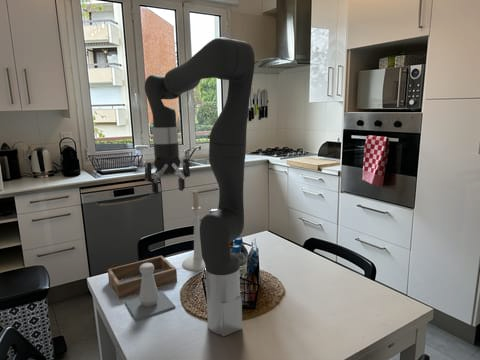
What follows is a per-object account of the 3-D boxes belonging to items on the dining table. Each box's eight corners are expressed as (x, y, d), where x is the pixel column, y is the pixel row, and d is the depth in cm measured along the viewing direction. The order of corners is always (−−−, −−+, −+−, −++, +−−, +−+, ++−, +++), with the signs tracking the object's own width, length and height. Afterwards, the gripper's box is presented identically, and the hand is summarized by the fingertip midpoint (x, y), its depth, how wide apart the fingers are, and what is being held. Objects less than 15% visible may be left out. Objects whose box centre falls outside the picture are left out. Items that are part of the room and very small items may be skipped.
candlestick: (196, 274, 128) (192, 195, 122) (175, 264, 136) (171, 190, 130) (221, 263, 137) (219, 188, 131) (200, 254, 145) (197, 184, 140)
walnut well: (177, 282, 122) (176, 268, 121) (119, 299, 112) (117, 285, 111) (162, 267, 134) (161, 255, 133) (108, 282, 123) (107, 269, 122)
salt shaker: (139, 310, 104) (136, 269, 102) (139, 300, 110) (136, 261, 107) (159, 307, 106) (156, 267, 103) (158, 297, 111) (156, 259, 109)
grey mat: (175, 307, 106) (175, 306, 106) (136, 321, 100) (136, 319, 100) (161, 291, 116) (161, 289, 116) (124, 302, 110) (124, 301, 110)
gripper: (147, 144, 101) (151, 198, 105) (191, 141, 109) (194, 191, 113) (139, 142, 108) (143, 193, 111) (181, 139, 115) (184, 187, 119)
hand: (169, 192), depth 112 cm, fingers open, 8 cm apart
